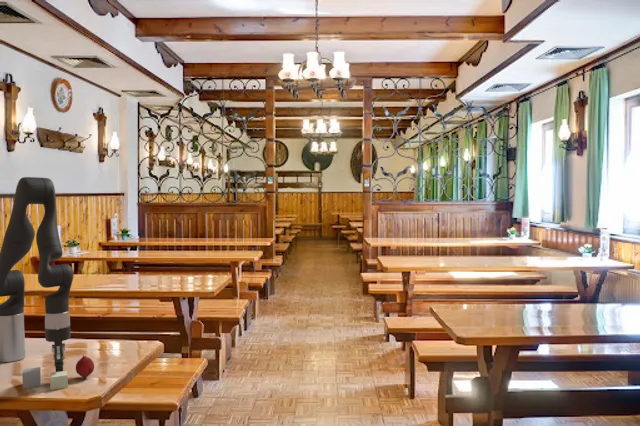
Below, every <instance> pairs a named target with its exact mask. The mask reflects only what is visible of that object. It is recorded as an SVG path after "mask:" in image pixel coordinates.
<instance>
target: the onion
mask: <svg viewBox="0 0 640 426" xmlns="http://www.w3.org/2000/svg"><path fill="white" fill-rule="evenodd" d="M94 370H95V363H94V360H92V359H91V358H90V357H88V356H87V355H86V354H83V355H82V357H81V358H80V359H79V360H78V361H77V362H76V364H75V372H76V373H77V375H79V376H80V377H82V378H83V379H86V378H88V377H89V376H91V374H92V373H93V372H94Z"/></svg>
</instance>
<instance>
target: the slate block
mask: <svg viewBox="0 0 640 426" xmlns="http://www.w3.org/2000/svg"><path fill="white" fill-rule="evenodd" d="M21 376H22V389H23V390H25V389H31V388H39V387H41V383H42V372H41V366H37V367H29V368H23V369H22V373H21Z"/></svg>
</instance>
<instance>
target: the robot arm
mask: <svg viewBox="0 0 640 426" xmlns="http://www.w3.org/2000/svg"><path fill="white" fill-rule="evenodd" d="M13 199H14V200H13V204H12V209H11V213H10V217H9V219H8V223H7V227H6V231H5V233H4V236H3V240H2V244H1V248H0V297H8V296H9V297H8V299H6V300H5V301H4V302H3V303H0V363H9V362H11V363H13V362H16V361H20V360H23V359H25V358H26V339H25V312H24V309H25V289H26V288H25V287H26V286H25V285H26V283H25V276H24V274H23V272H22V271H21V270H19V269H13V268H14V266H16V264H18V263H19V262H20V261H21V260H22V259H23V258H24V257H26V255H27V254H28V253H29V252H30V251H31V249H32V247H33V246H32V245H33V242H34V240H35V241H36V247H37V251H38V257H39V258H38V259H39V260H38V261H39V263H38V265H39V266H38V273H37V281H38V284H39V285H40V286H41V287H43V288H47V289H48V288H55V287H58V289H57V290H56V291H55V292H53V293H48V294H47V295H45V298H44V308H45V309H44V311H45V312H44V313H45V316H44V333H45V334H44V335H45V336H44V337H45V339H44V340H45V341H46V342H48V343H54V344H52V345H51V352H52V360H53V361H54V365H53V366H54V367H55V372H60V371H64V363H65V362H64V360H65V351H66V343H65V342H63V341H67V340H70V338H71V316H70V310H69V308H70V307H69V305H70V304H69V300H70V299H69V297H70V293H71V288H72V285H73V280H74V270H73V267H72V266H70V265H69V264H67V263H63V264H61V263H60V264H54V265H52V264H51V265H50V262H54V261H57V260H59V259H61V258H62V256H63V247H62V244H61V239H60V236H59V235H60V234H59V229H58V216H57V215H58V213H57V195H56V188H55V185H54V183H53V181H52V179H50V178H49V177H48V178H47V177H38V176H37V177H35V176H33V177H31V176H24V177H21V178H20V179H19V180H18V182H17V185H16V188H15V193H14V198H13ZM29 205H43V207H44V215H43V218H42V220H41V222H40V223H39V226H38V229H37V230H36V233H35V228H34V227H33V224H32V222H31V221H30V219H29V217H28V214H27V208H28V206H29ZM35 234H36V236H35Z"/></svg>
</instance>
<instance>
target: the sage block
mask: <svg viewBox="0 0 640 426" xmlns="http://www.w3.org/2000/svg"><path fill="white" fill-rule="evenodd" d="M68 378H69V377H68V370H63V371H60V372H56V371H54V372H50V373H49V385H50V386H49V388H50V390H51V391H53V390H60V389H67V388H68V386H69V385H68V383H69V382H68Z"/></svg>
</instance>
